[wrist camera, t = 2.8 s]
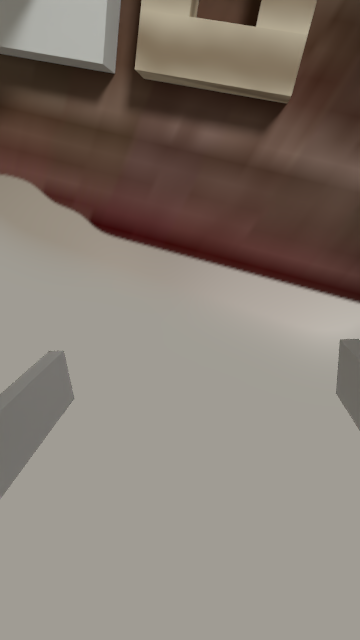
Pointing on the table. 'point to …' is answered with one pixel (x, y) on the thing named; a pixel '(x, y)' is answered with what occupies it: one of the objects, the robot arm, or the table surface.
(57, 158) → the table surface
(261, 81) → the block
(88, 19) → the mount block
